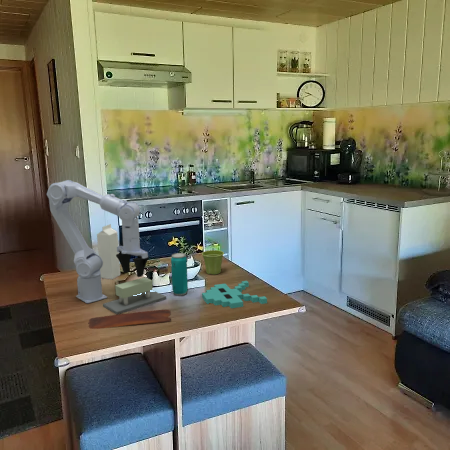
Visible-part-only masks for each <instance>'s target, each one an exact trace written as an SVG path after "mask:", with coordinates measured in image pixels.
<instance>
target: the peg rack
mask: <svg viewBox="0 0 450 450" xmlns="http://www.w3.org/2000/svg"><path fill="white" fill-rule="evenodd" d="M164 300H167V296H166V295H164V294H163V293H160V292H157V291H155V292H150V291H147V292H146V294H145V292H143V293H142V294H141V295H137V296H130V297H127V298H121V297H119V296H118V299H114V300H111V301H107V302H104V303H102V307H103V308H105V309H106V310H108V311H110V312H111V313H113V314H114V315H119V314H125V313H127V312H130V311H133V310H136V309H139V308H142V307H146V306H148V305H153V304H156V303H158V302H162V301H164Z"/></svg>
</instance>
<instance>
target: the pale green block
mask: <svg viewBox="0 0 450 450" xmlns="http://www.w3.org/2000/svg"><path fill="white" fill-rule="evenodd" d="M114 287H115V289H114V290H115V295H116V296H118V298H119V297H121V298H127V297H130V296H133V295H137V294H140V293H143V292H147V291H150V290H153V280H152V279H150V278H147V277H143V276H142V277H139V278H137V279H133V280H130V281H126V282H122V283H118V284H115V286H114ZM153 291H154V290H153Z"/></svg>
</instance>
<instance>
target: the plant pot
mask: <svg viewBox="0 0 450 450" xmlns="http://www.w3.org/2000/svg"><path fill="white" fill-rule="evenodd" d="M224 255H225V251H222V250H215V249H213V250H212V249H211V250H205V251H202V252H201V256H202V258H203V262H204V265H205V266H204V267H205V271H206V274H208V275H218V274H221V272H222V271H221V270H222V262H223V257H224Z"/></svg>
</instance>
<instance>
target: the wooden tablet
mask: <svg viewBox="0 0 450 450" xmlns="http://www.w3.org/2000/svg"><path fill="white" fill-rule="evenodd" d="M171 315H172V312H171V310H170V309H155V310H145V311H137V312H129V313H127V312H126V313H121V314H118V315H117V314H114V315H113V314H112V315H111V314H110V315H104V316H97V317H92V318H89V320H88V328H89V329H90V330H92V329H93V330H97V329H98V330H99V329H100V330H103V329H111V328H119V327H128V326H137V325H138V326H139V325H151V324H160V323H161V324H163V323H169V322H172V317H170V316H171Z"/></svg>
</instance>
